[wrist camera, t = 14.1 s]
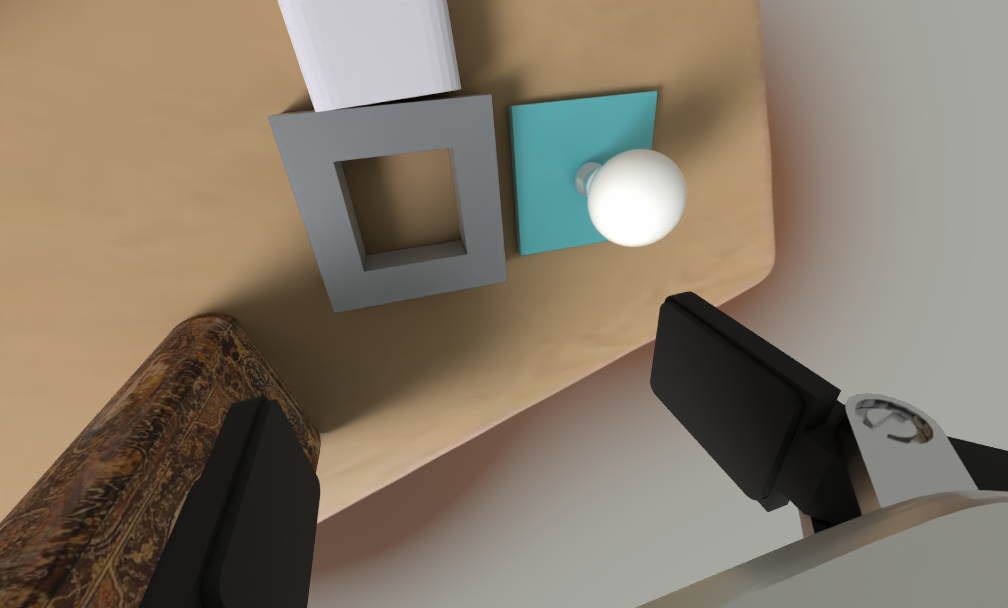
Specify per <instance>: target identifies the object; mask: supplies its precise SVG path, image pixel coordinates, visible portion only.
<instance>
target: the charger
mask: <svg viewBox="0 0 1008 608" xmlns="http://www.w3.org/2000/svg"><path fill="white" fill-rule="evenodd" d="M278 3H279V6H280V9H281V12H282V15H283V18H284V21H285V24H286V27H287V29H288V32H289V35H290V38H291V41H292V44H293V47H294V50H295V53H296V56H297V59H298V62H299V65H300V68H301V71H302V74H303V77H304V80H305V83H306V86H307V89H308V92H309V95H310V98H311V100H312V103H313V106H314V109H315V112H321V111H328V110H335V109H341V108H347V107H354V106H360V105H366V104H372V103H379V102H385V101H391V100H398V99H404V98H410V97H416V96H423V95H429V94H435V93H441V92H448V91H453V90H459V89H461V84H460V78H459V72H458V66H457V59H456V53H455V47H454V41H453V35H452V29H451V23H450V17H449V11H448V5H447V0H278Z"/></svg>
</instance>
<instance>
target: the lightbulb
mask: <svg viewBox="0 0 1008 608" xmlns="http://www.w3.org/2000/svg"><path fill="white" fill-rule="evenodd" d="M574 184H575V187H576V189H577V191H578V192H579V193H580V194H582V195H584V196H586V197H587V206H588V212H589V216H590V219H591V221H592V223H593V225H594V226H595V228H596V229H597V230H598V232H599V233H600V234H601V235H602V236H604V237H605V238H606V239H608V240H609V241H611V242H613V243H616V244H618V245H622V246H627V247H639V246H645V245H649V244H652V243H654V242H656V241H658V240H660V239H662V238H663V237H665V236H666V235H667V234H669V233H670V232H671V231H672V230H673V229H674V228H675V226H676V225H677V224H678V222H679V221H680V219H681V217H682V215H683V213H684V210H685V207H686V202H687V185H686V181H685V178H684V176H683V173H682V172H681V170H680V168H679V167H678V166H677V165H676V163H675V162H674V161H673V160H671V159H670V158H669V157H667V156H666V155H664V154H662V153H660V152H657V151H654V150H650V149H633V150H628V151H625V152H622V153H620V154H617V155H616V156H614V157H612V158H611V159H609V160H608V161H607V162H606V163H604V164H603V165H601V164H598V163H595V162H588V163H585V164H584V165H582V166H581V167H580V168H579V169H578V171H577V172H576V175H575V179H574Z"/></svg>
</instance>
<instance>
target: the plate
mask: <svg viewBox="0 0 1008 608" xmlns="http://www.w3.org/2000/svg"><path fill="white" fill-rule="evenodd" d="M656 101H657V91H645V92H635V93H626V94H616V95H607V96H597V97H588V98H578V99H569V100H559V101H550V102H540V103H530V104H521V105H511V106H508V108H509V123H510V138H511V153H512V168H513V184H514V199H515V214H516V229H517V244H518V252H519V254H520V255H521V256H523V255H528V254H534V253H540V252H546V251H552V250H557V249H563V248H569V247H575V246H581V245H586V244H592V243H598V242H604V241H609V240H608V239H606V238H605V237H604V236H602V235H601V234H600V233H599V232H598V230H597V229H596V228H595V226H594V225H593V223H592V221H591V219H590V216H589V212H588V206H587V197H586V196H584V195H582V194H580V193H579V192H578V191H577V189H576V187H575V184H574V179H575V175H576V172H577V171H578V169H579V168H580V167H581V166H582V165H584V164H585V163H588V162H595V163H598V164H601V165H603V164H604V163H606V162H607V161H608V160H609V159H611V158H612V157H614V156H616V155H617V154H620V153H622V152H625V151H628V150H633V149H650V150H652V141H653V131H654V121H655V111H656Z"/></svg>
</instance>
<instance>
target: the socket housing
mask: <svg viewBox="0 0 1008 608" xmlns="http://www.w3.org/2000/svg"><path fill="white" fill-rule="evenodd" d="M268 120H269V123H270V126H271V128H272V131H273V134H274V137H275V140H276V143H277V146H278V149H279V152H280V155H281V158H282V161H283V164H284V167H285V170H286V173H287V176H288V178H289V181H290V184H291V187H292V190H293V193H294V196H295V199H296V202H297V205H298V208H299V211H300V214H301V217H302V220H303V223H304V226H305V228H306V231H307V234H308V237H309V240H310V243H311V246H312V249H313V252H314V255H315V258H316V261H317V264H318V267H319V270H320V273H321V276H322V278H323V281H324V284H325V287H326V290H327V293H328V296H329V299H330V302H331V305H332V308H333V311H334V313H337V312H343V311H348V310H354V309H359V308H365V307H370V306H376V305H381V304H387V303H392V302H398V301H403V300H409V299H414V298H419V297H425V296H430V295H436V294H441V293H447V292H452V291H458V290H463V289H469V288H474V287H480V286H485V285H491V284H496V283H502V282H507V274H506V262H505V250H504V238H503V226H502V214H501V202H500V191H499V179H498V167H497V155H496V143H495V131H494V119H493V107H492V95H491V94H472V95H462V96H452V97H441V98H431V99H421V100H411V101H401V102H390V103H380V104H370V105H360V106H354V107H347V108H341V109H335V110H328V111H321V112H315V110H309V111H299V112H289V113H280V114H276V115H272V116H268ZM444 148H448V149H449V157H450V164H451V171H452V178H453V185H454V192H455V199H456V207H457V214H458V221H459V228H460V235H461V240H457V241H451V242H444V243H438V244H432V245H426V246H420V247H413V248H407V249H401V250H395V251H388V252H382V253H376V254H370V255H366V252H365V248H364V244H363V241H362V237H361V233H360V229H359V226H358V222H357V218H356V215H355V211H354V207H353V204H352V200H351V196H350V192H349V189H348V185H347V181H346V178H345V174H344V170H343V166H342V163H341V161H345V160H353V159H361V158H370V157H378V156H386V155H395V154H403V153H411V152H420V151H428V150H436V149H444Z"/></svg>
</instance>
